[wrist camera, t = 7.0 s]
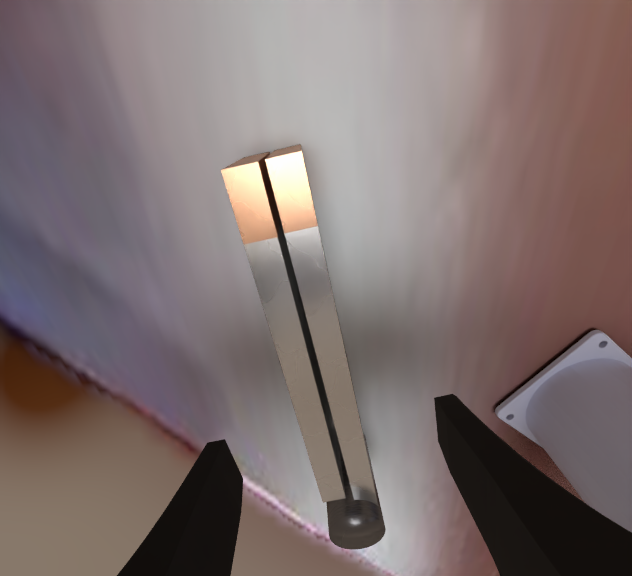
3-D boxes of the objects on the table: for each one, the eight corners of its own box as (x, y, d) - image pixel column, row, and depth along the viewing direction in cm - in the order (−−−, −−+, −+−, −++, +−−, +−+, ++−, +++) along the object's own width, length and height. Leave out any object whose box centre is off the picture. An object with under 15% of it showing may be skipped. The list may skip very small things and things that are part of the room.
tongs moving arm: (335, 423, 22) (345, 498, 18) (317, 426, 22) (322, 502, 18) (269, 151, 15) (258, 161, 11) (243, 157, 15) (221, 170, 11)
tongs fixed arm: (368, 453, 24) (388, 543, 19) (326, 461, 24) (335, 553, 19) (302, 143, 16) (305, 152, 10) (238, 158, 16) (208, 174, 10)
